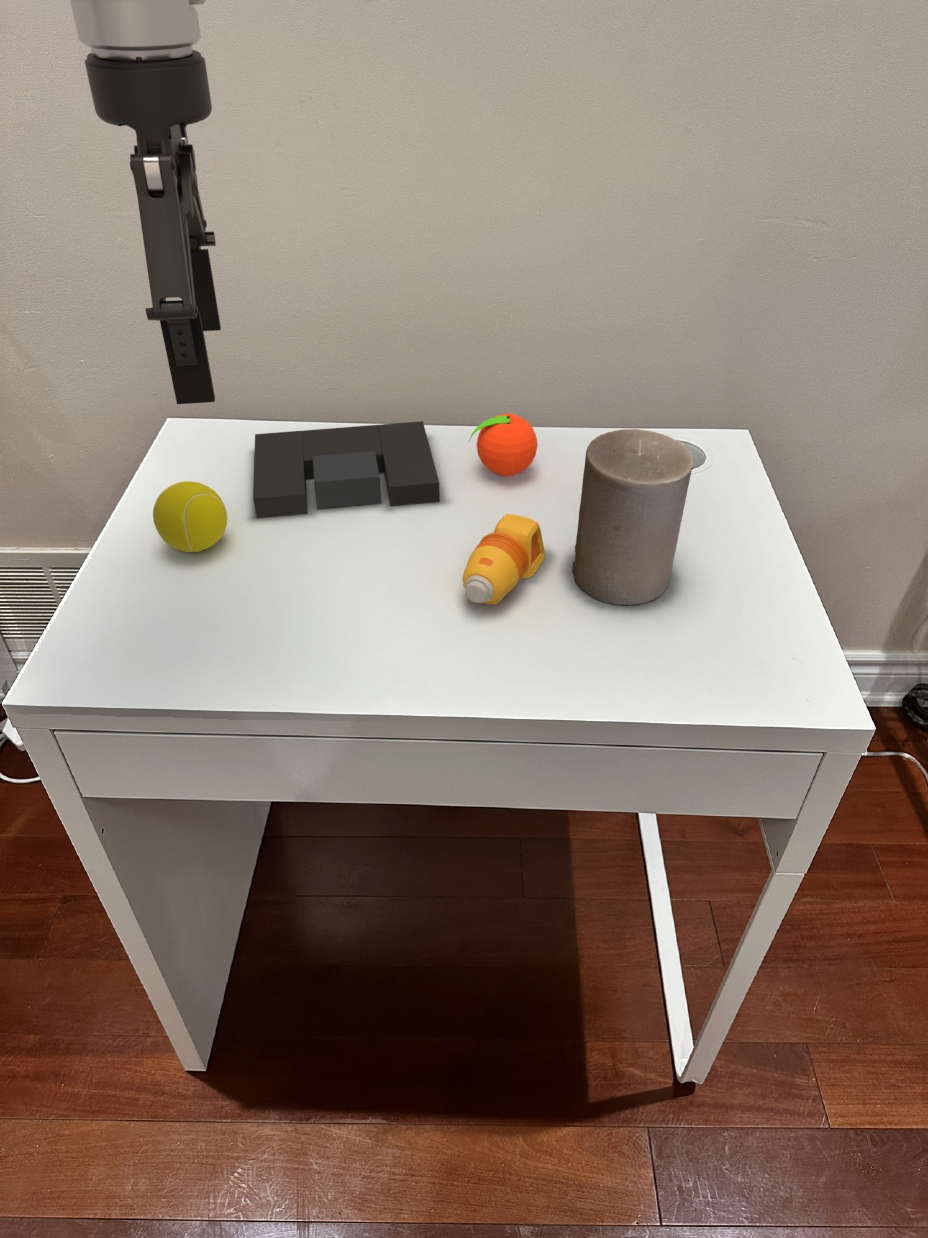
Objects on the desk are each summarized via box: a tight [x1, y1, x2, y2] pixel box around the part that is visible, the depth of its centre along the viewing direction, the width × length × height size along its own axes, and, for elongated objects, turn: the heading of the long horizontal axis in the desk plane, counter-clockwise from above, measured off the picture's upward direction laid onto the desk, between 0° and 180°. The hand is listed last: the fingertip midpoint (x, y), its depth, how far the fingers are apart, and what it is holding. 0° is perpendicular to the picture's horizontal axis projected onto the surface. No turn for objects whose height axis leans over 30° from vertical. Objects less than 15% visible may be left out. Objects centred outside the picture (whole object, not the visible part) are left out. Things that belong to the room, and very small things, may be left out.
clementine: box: [468, 413, 538, 477], centre depth 100 cm, size 8×7×7 cm
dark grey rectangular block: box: [313, 451, 382, 510], centre depth 98 cm, size 7×6×4 cm
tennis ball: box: [152, 480, 228, 553], centre depth 89 cm, size 7×7×7 cm
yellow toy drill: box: [462, 513, 546, 606], centre depth 85 cm, size 5×6×12 cm
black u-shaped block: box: [252, 420, 440, 519], centre depth 101 cm, size 20×14×2 cm
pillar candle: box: [571, 428, 695, 606], centre depth 83 cm, size 10×10×15 cm
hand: (200, 363), depth 70 cm, fingers open, 13 cm apart
